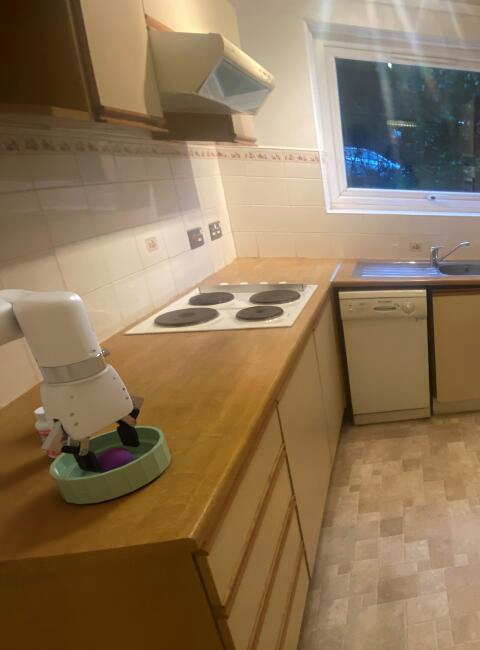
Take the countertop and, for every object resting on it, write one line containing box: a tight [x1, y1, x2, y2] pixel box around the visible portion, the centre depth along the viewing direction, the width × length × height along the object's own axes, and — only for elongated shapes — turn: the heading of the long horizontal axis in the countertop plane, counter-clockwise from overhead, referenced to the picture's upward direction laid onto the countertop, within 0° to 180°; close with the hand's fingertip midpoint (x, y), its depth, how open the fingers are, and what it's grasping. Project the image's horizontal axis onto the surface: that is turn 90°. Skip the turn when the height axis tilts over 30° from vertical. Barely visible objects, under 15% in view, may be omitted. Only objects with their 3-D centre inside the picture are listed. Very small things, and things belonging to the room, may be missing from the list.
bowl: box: [49, 425, 173, 505], centre depth 78 cm, size 15×15×6 cm
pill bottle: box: [33, 405, 79, 459], centre depth 83 cm, size 5×5×10 cm
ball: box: [97, 448, 133, 474], centre depth 78 cm, size 5×5×5 cm
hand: (112, 456), depth 77 cm, fingers open, 6 cm apart
